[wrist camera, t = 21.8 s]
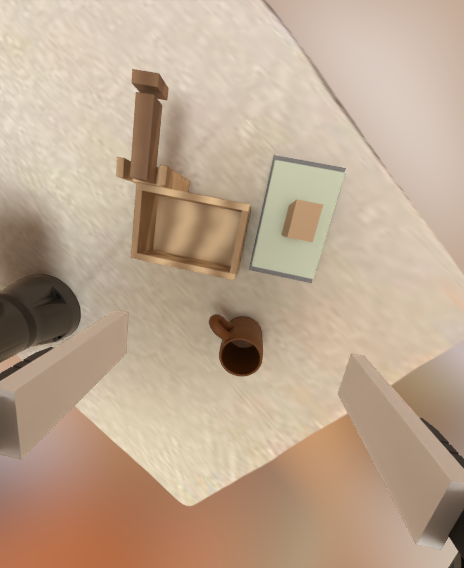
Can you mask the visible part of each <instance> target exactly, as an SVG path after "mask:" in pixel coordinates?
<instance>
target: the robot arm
mask: <svg viewBox="0 0 464 568" xmlns="http://www.w3.org/2000/svg"><path fill="white" fill-rule="evenodd" d="M79 320H80V308H79V304H78V302H77V299H76V297H75V295H74V294H73V292H72V291H71V290H70V289H69V288H68V287H67V286H66V285H65V284H64V283H63V282H61V281H60V280H58V279H56V278H54V277H52V276H48V275H34V276H29V277H25V278H22V279H20V280H18V281H17V282H15V283H14V284H12V285H10V286H8V287H7V288H5V289H3V290H2V291H0V363H1V362H3V361H4V360H6V359H8V358H10V357H12V356H14V355H16V354H18V353H19V352H21V351H23V350H25V349H27V348H29V347H33V346H38V345H43V344H47V343H52V342H56V341H59V340H61V339H63V338H65V337H67V336H68V335H70V334H72V333H73V332H74V331H75V329H76V328H77V326H78V324H79ZM127 331H128V312H123V311H118V310H115V311H114V312H112V313H110V314H109V315H107V316H105V317H104V318H102V319H101V320H99V321H97V322H96V323H94V324H92V325H91V326H89V327H87V328H86V329H84V330H83V331H81V332H79V333H78V334H76V335H74V336H73V337H71V338H70V339H68V340H66V341H65V342H63V343H61V344H60V345H58V346H57V347H55V348H52V347H50V348H47V349H44V350H42V351H39V352H36V353H34V354H33V355H31V356H29V357H27V358H26V359H24V361H21V362H19V363H17V364H15V365H14V366H13V367H10V368H9V369H7V370H5V371H3V372H2V373H1V374H0V455H3V456H8V457H12V458H17V459H22V458H23V457H24V456H25V455H26V454H27V453H28V452H29V451H30V450H31V449H32V448H33V447H34V446H35V445H36V444H37V443H38V442H39V441H40V440H41V439H42V438H43V437H44V436H45V435H46V434H47V433H48V432H49V431H50V430H51V429H52V428H53V427H54V426H55V425H56V424H57V423H58V422H59V421H60V420H61V419H62V418H63V417H64V416H65V415H66V414H67V413H68V412H69V411H70V410H71V409H72V408H73V407H74V406H75V405H76V404H77V403H78V402H79V401H80V400H81V399H82V398H83V397H84V396H85V395H86V394H87V393H88V392H89V391H90V390H91V389H92V388H93V387H94V386H95V385H96V384H97V383H98V382H99V381H100V380H101V378H102V377H103V376H104V375H105V374H106V373H107V372H108V371H109V370H110V369H111V368H112V367H113V366H114V365H115V364H116V363H117V362H118V361H119V360H120V359H121V358H122V357H123V356H124V355H125V354H126V353H127ZM338 395H339V397H340V399H341V401H342V403H343V405H344V407H345V409H346V411H347V413H348V415H349V416H350V418H351V420H352V422H353V424H354V426H355V428H356V430H357V432H358V434H359V436H360V438H361V440H362V442H363V443H364V445H365V447H366V449H367V451H368V453H369V455H370V457H371V459H372V461H373V463H374V465H375V467H376V469H377V470H378V473H379V474H380V476H381V478H382V480H383V482H384V484H385V486H386V488H387V490H388V492H389V494H390V495H391V498H392V499H393V501H394V503H395V505H396V507H397V509H398V511H399V513H400V515H401V517H402V519H403V521H404V523H405V525H406V526H407V528H408V530H409V532H410V534H411V536H412V538H413V540H414V542H415V544H416V545H420V546H424V547H429V548H434V549H438V550H441V549H442V547H443V545H444V544H445V542H446V541H447V539H448V537H450V539H451V540H452V542H453V544H454V545H455V547H456V548H457V550H458V551H459V552H458V553H457V555H456V557H455V558H454V560H453V561H452V563H451V564H450V566H449V567H448V568H464V459H463V458H462V456H460V455H458V452H457V451H456V450H455V449H454V448H453V447H452V446H451V445H449V442H448V441H447V440H446V439H445V438H444V437H443V436H442V435H441V434H440V433H439V431H438V430H437V429H435V428H434V427H433V426H432V425H430V424H429V423H428V422H427V421H425V420H424V419H423V418H419V417H418V416H417V415H416V414H415V413H414V412H413V410H412V409H411V408H410V407H409V406H408V405H407V404H406V402H405V401H404V400H403V399H402V398H401V397H400V396H399V395H398V393H397V392H396V391H395V390H394V389H393V388H392V387H391V385H390V384H389V383H388V382H387V381H386V380H385V379H384V377H383V376H382V375H381V374H380V373H379V372H378V371H377V369H376V368H375V367H374V366H373V365H372V364H371V363H370V361H369V360H368V359H367V358H366V357H365V356H362V355H356V354H351V355H350V358H349V361H348V364H347V367H346V370H345V373H344V376H343V379H342V382H341V385H340V388H339V391H338Z"/></svg>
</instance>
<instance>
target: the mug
mask: <svg viewBox="0 0 464 568" xmlns="http://www.w3.org/2000/svg"><path fill="white" fill-rule="evenodd" d="M209 325H210V327H211V329H212V331H213V332H214V333H215V334H216V335H217V336H218V337H220V338H221V339H223V340H222V343H221V346H220V352H219V359H220V362H221V365H222V366H223V368H224V369H225V370H226V371H227V372H229V373H231V374H233V375H236V376H248V375H251V374H253V373H255V372H256V371H257V370H258V369H259V367H260V366H261V363H262V357H263V341H262V331H261V328H260V326H259V325H258V324H257V322H255V321H254V320H252V319H250V318H247V317H239V318H236V319H234V320H232V321H231V322H230V323H229V322H228V321H227V320H226V319H225V318H223V317H222V316H220V315H217V314H215V315H212V316H211V317H210V320H209Z"/></svg>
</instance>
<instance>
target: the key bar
mask: <svg viewBox="0 0 464 568" xmlns="http://www.w3.org/2000/svg"><path fill="white" fill-rule="evenodd" d="M132 84H133V85H134V86H135V87H136V88H137V89H138V91H139V92H140V93H139V92H136V98H135V113H134V128H133V142H132V157H131V171H130V177H132V178H134V179H137V180H139V181H144V182H149V183H154V184H155V176H156V166H157V156H158V145H159V135H160V124H161V114H162V104H161V103H160V102H159V101H158V99H163V100H167V97H168V87H167V85H166V84H165V82H164V81H163V79H162V77H161V76H160V74H159V73H153V72H147V71H141V70H135V69H132Z"/></svg>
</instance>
